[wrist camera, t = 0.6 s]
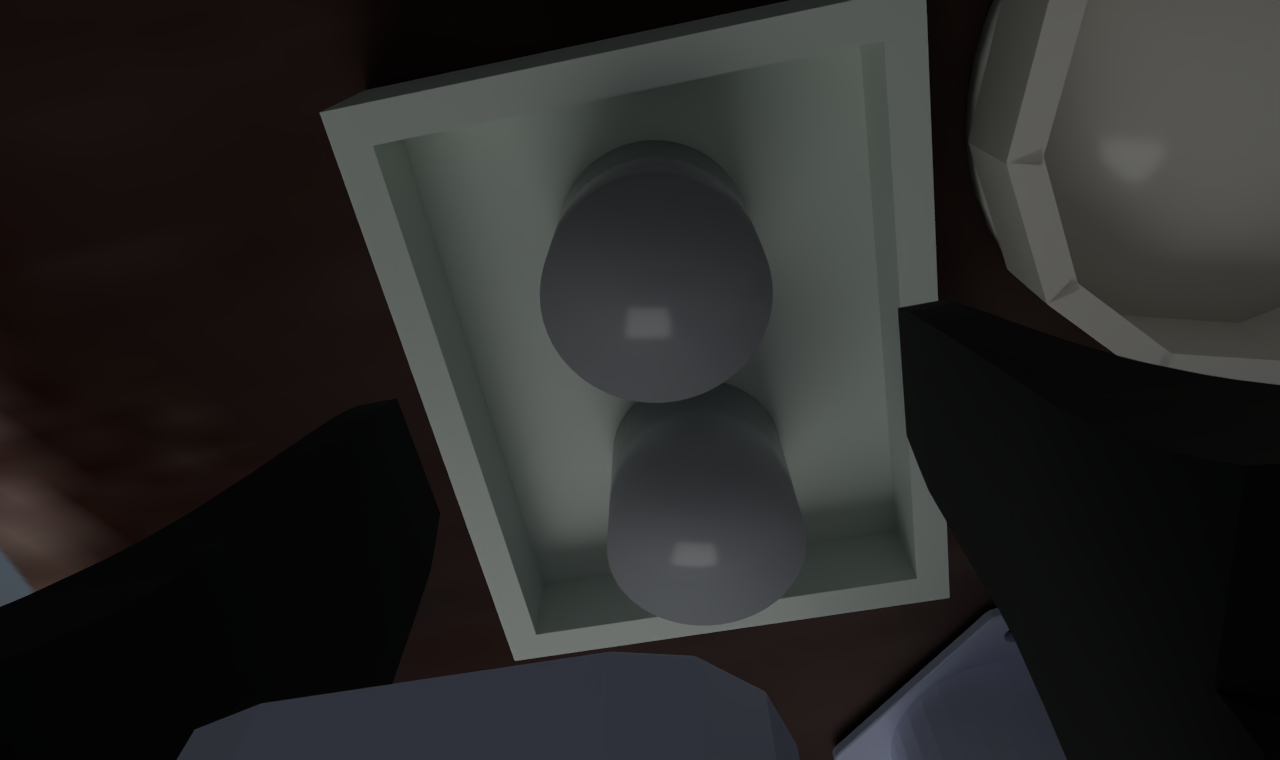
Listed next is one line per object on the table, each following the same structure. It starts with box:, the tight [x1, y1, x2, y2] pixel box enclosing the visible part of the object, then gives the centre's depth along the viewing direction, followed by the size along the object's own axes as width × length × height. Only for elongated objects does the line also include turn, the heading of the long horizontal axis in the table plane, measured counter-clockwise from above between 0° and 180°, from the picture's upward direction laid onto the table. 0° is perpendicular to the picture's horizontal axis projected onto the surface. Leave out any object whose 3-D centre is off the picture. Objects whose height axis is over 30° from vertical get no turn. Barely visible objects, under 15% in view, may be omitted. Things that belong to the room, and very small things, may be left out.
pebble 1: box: [540, 140, 773, 403], centre depth 18 cm, size 4×4×4 cm
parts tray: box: [320, 0, 950, 661], centre depth 20 cm, size 15×12×3 cm
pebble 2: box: [607, 383, 807, 626], centre depth 20 cm, size 4×4×4 cm
